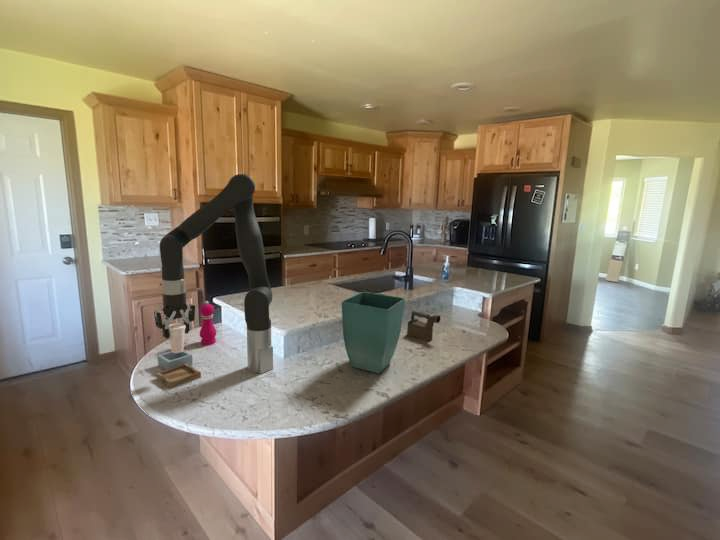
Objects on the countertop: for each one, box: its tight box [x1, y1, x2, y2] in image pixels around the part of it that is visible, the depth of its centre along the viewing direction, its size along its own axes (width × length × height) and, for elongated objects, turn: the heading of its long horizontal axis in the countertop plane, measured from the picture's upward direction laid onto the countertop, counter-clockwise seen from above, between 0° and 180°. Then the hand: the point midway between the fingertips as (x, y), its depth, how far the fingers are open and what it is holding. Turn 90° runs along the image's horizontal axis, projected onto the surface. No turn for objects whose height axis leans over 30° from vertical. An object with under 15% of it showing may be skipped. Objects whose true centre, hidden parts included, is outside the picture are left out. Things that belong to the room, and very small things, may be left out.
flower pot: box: [341, 291, 406, 374], centre depth 154 cm, size 20×20×28 cm
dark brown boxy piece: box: [406, 310, 441, 341], centre depth 188 cm, size 8×16×13 cm, turn 46°
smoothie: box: [168, 318, 186, 353], centre depth 136 cm, size 6×6×14 cm
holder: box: [157, 349, 194, 371], centre depth 149 cm, size 9×9×4 cm
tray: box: [156, 364, 202, 389], centre depth 139 cm, size 11×11×2 cm
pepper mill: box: [199, 300, 218, 346], centre depth 170 cm, size 7×7×20 cm
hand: (176, 335), depth 136 cm, fingers closed on smoothie, 6 cm apart
